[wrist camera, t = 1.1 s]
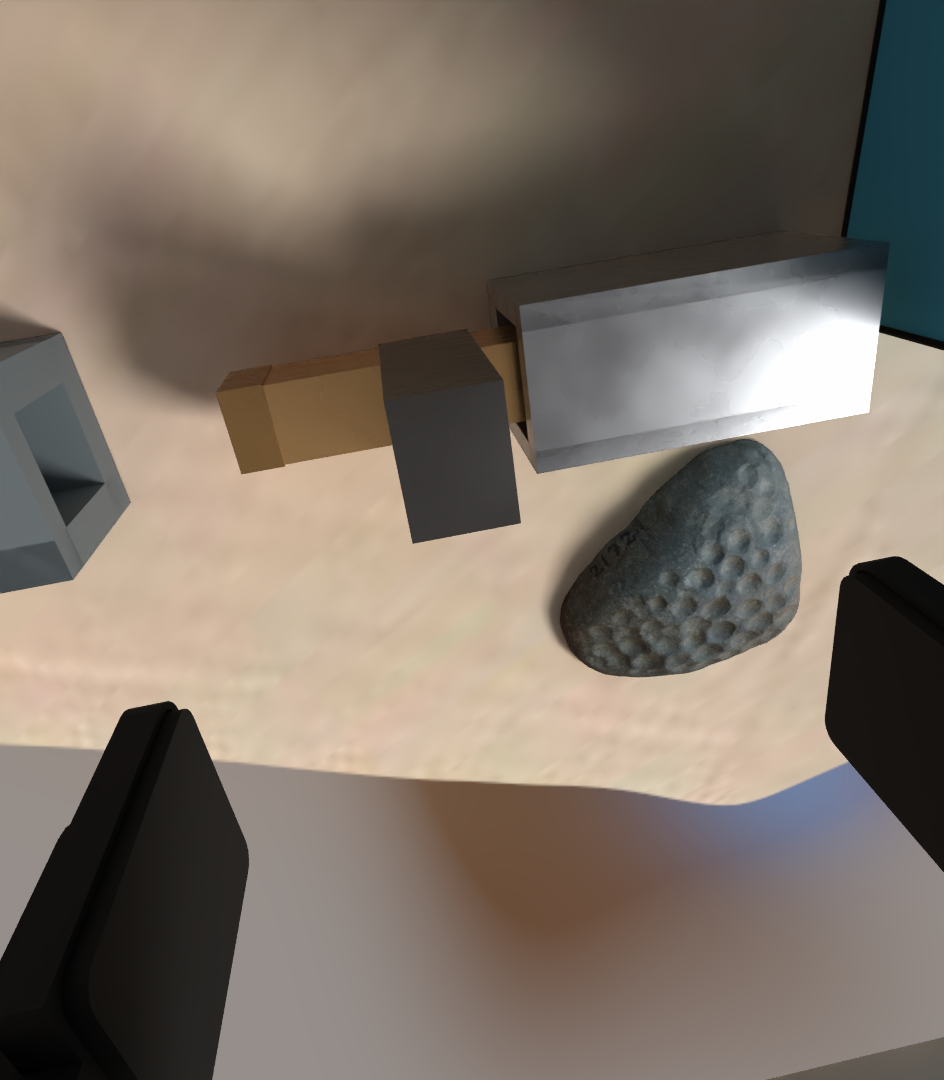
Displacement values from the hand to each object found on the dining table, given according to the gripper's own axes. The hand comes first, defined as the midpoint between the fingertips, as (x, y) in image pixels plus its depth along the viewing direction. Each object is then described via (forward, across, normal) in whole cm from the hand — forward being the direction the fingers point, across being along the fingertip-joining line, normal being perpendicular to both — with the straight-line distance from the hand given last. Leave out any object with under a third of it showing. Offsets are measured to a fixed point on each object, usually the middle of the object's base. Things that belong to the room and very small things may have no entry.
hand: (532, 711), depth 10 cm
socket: (+21, +16, 0) cm, 26 cm away
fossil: (+22, -11, +11) cm, 27 cm away
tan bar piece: (+19, -4, 0) cm, 19 cm away
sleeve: (+21, -9, 0) cm, 23 cm away
